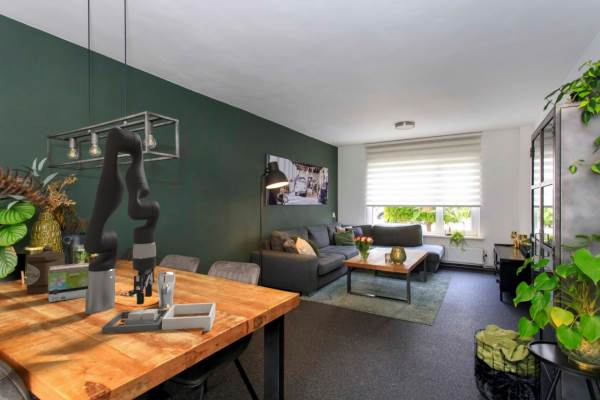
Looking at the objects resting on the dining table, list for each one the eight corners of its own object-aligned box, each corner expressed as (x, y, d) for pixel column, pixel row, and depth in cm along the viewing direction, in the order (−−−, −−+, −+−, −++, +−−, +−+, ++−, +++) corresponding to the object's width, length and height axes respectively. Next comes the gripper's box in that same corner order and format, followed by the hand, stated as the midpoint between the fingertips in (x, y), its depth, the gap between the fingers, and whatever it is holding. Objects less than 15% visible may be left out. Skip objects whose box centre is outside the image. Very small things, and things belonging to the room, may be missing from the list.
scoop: (118, 328, 103) (118, 321, 103) (125, 322, 109) (125, 315, 109) (155, 326, 105) (155, 319, 105) (160, 320, 111) (160, 313, 111)
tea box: (48, 303, 130) (49, 269, 130) (47, 297, 138) (48, 266, 138) (90, 296, 140) (90, 265, 140) (87, 291, 148) (87, 261, 148)
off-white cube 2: (142, 324, 105) (142, 313, 105) (145, 320, 109) (146, 309, 109) (154, 324, 106) (154, 312, 106) (157, 319, 110) (157, 308, 110)
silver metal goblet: (153, 310, 123) (153, 274, 123) (165, 304, 130) (166, 270, 130) (166, 312, 121) (166, 275, 121) (178, 306, 127) (179, 271, 127)
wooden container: (24, 290, 149) (25, 246, 149) (61, 284, 160) (62, 243, 161) (29, 296, 139) (29, 249, 140) (68, 289, 151) (68, 246, 151)
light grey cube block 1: (128, 325, 104) (128, 314, 104) (132, 321, 108) (132, 310, 108) (140, 324, 105) (140, 313, 105) (144, 320, 109) (144, 309, 109)
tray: (101, 337, 98) (102, 327, 98) (121, 320, 113) (121, 311, 113) (158, 334, 101) (158, 324, 101) (169, 317, 115) (170, 309, 115)
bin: (161, 333, 101) (162, 319, 101) (173, 317, 116) (173, 304, 116) (210, 330, 104) (210, 316, 104) (215, 315, 118) (215, 302, 118)
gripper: (140, 252, 114) (140, 295, 114) (125, 259, 100) (125, 307, 99) (161, 252, 115) (161, 293, 115) (149, 258, 101) (149, 306, 101)
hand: (144, 300), depth 107 cm, fingers open, 8 cm apart
